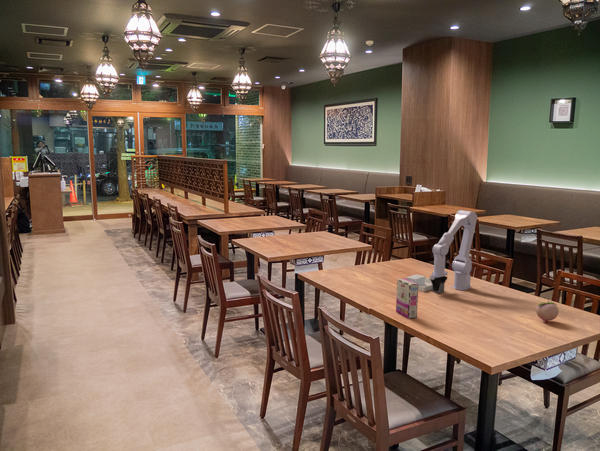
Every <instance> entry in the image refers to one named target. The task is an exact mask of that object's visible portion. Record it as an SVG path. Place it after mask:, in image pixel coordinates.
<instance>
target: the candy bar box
mask: <svg viewBox="0 0 600 451" xmlns="http://www.w3.org/2000/svg"><path fill="white" fill-rule="evenodd" d="M395 301H396V305H395V312H396V313H397V314H400V315H401V316H403V317H405V318H406V319H409V320H411V319H417V318H418V301H419V291H418V284H417V283H415V282H412V281H410V280H408V279H406V278H397V282H396V300H395Z"/></svg>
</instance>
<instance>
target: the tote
mask: <svg viewBox="0 0 600 451" xmlns="http://www.w3.org/2000/svg"><path fill="white" fill-rule="evenodd" d="M432 287H433V285H432V282H431V280H430V278H429V277H425V284H423V285H420V286H418V292H421V293H425V292H428V291H432Z"/></svg>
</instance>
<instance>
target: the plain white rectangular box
mask: <svg viewBox="0 0 600 451" xmlns="http://www.w3.org/2000/svg"><path fill="white" fill-rule="evenodd" d="M425 278H426V276H425V275H420V274H412V275H410V276H406V277H405V279H408V280H410V281H412V282H415V283H417V284H418V286H420V285H423V284H425Z"/></svg>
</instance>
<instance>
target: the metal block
mask: <svg viewBox="0 0 600 451" xmlns="http://www.w3.org/2000/svg"><path fill="white" fill-rule="evenodd" d="M444 292H445V284H444V282H442V281H440V283H439V288H438V291H434V289H433V287H432V289H431V293H436V294H439V295H440V294H442V293H444Z"/></svg>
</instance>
